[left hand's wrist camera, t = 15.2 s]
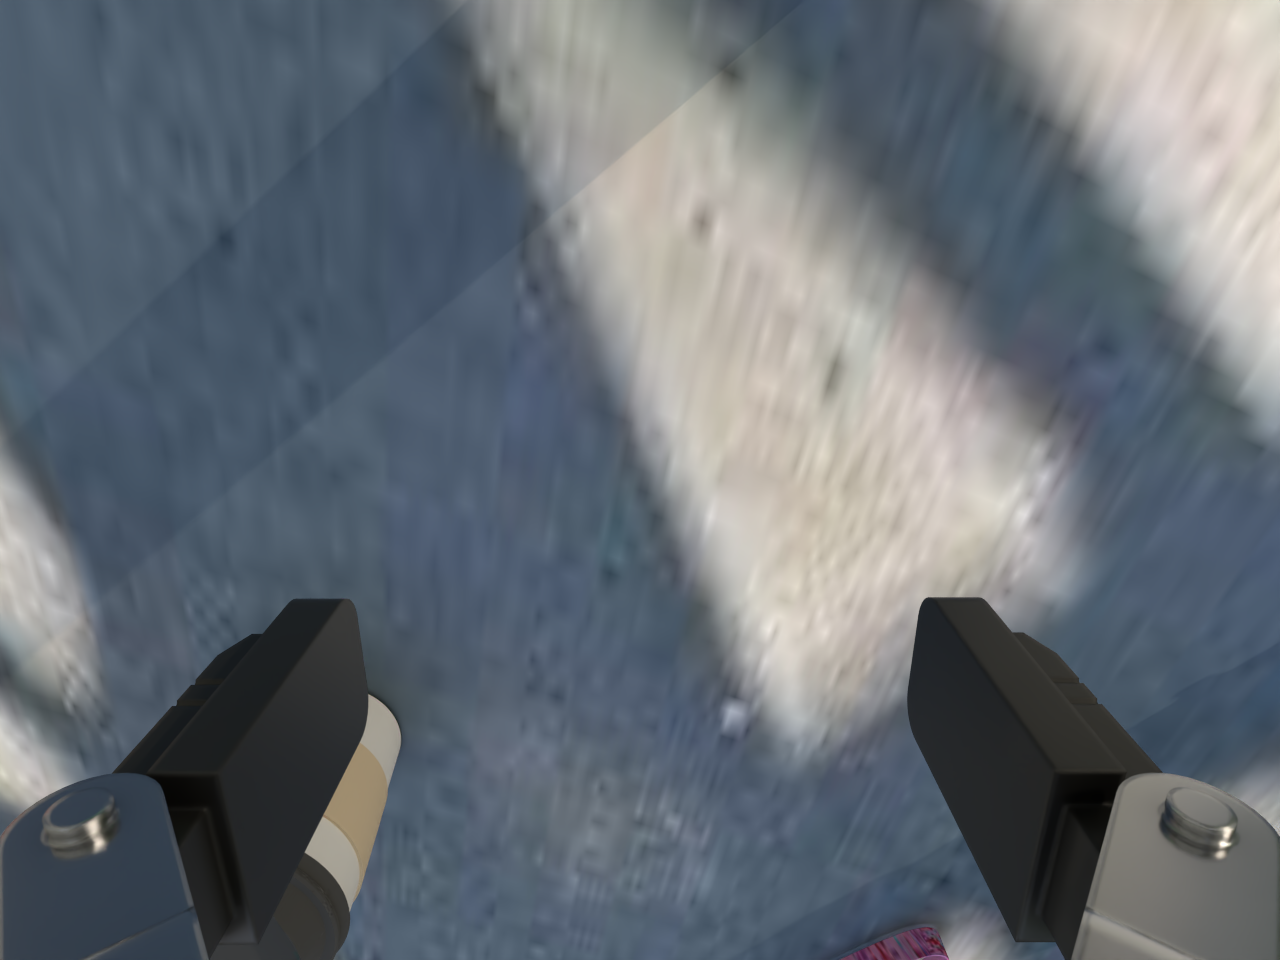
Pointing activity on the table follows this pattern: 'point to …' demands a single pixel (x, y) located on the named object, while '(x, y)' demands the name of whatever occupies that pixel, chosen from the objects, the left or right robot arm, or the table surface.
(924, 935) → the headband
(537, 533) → the table surface
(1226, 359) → the table surface
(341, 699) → the left robot arm
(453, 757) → the table surface
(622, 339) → the table surface
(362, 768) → the coffee cup
